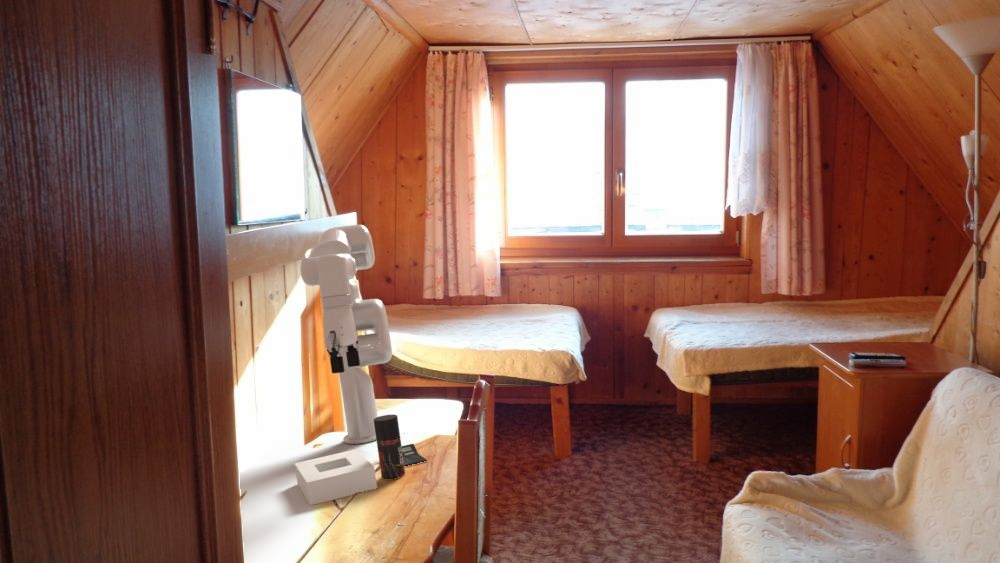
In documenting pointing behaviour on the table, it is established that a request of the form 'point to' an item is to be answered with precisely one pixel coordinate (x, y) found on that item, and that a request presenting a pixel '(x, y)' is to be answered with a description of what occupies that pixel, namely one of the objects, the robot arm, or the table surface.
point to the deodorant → (389, 446)
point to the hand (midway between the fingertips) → (346, 369)
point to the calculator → (411, 455)
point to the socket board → (335, 476)
